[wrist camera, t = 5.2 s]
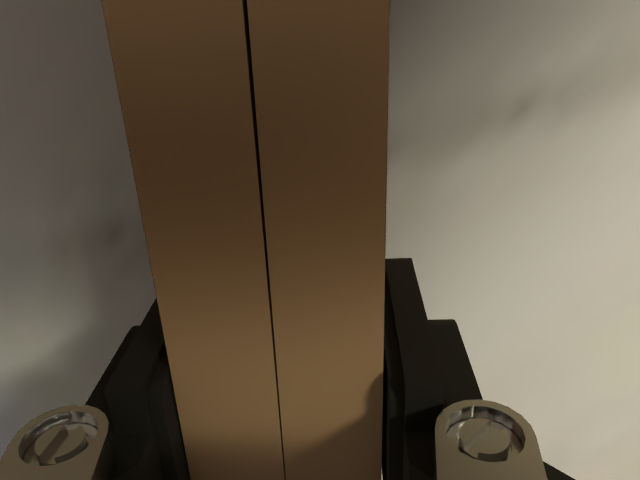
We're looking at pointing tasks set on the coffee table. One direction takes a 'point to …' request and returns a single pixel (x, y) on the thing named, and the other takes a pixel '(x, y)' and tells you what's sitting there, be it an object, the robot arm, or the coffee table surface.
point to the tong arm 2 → (325, 224)
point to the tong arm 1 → (203, 223)
